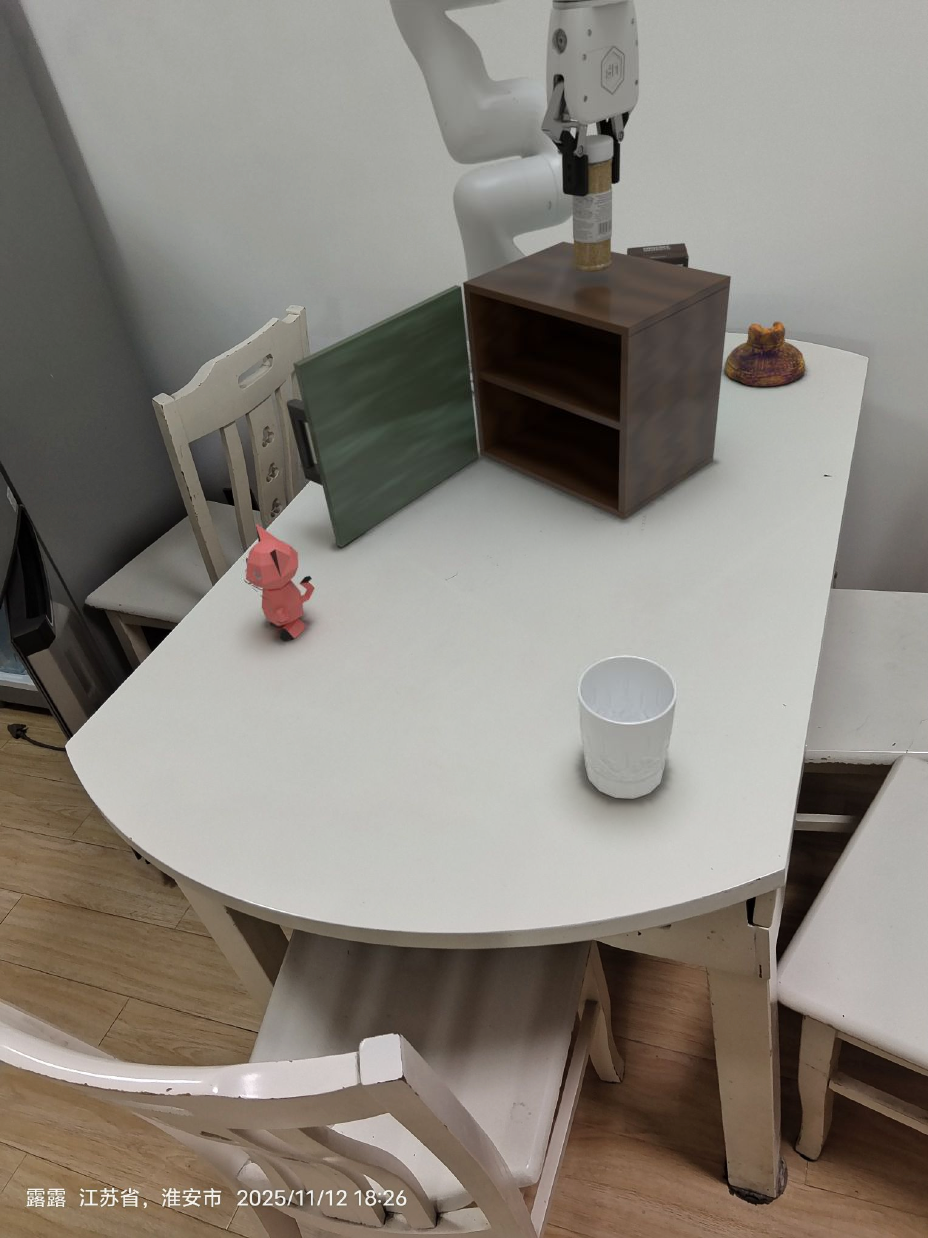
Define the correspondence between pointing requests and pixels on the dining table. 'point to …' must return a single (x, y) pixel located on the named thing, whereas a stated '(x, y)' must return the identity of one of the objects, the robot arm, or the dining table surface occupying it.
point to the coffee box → (663, 253)
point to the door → (387, 413)
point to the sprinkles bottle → (594, 209)
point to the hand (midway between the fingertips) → (591, 186)
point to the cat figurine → (278, 583)
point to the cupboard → (598, 373)
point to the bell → (765, 358)
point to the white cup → (626, 723)
